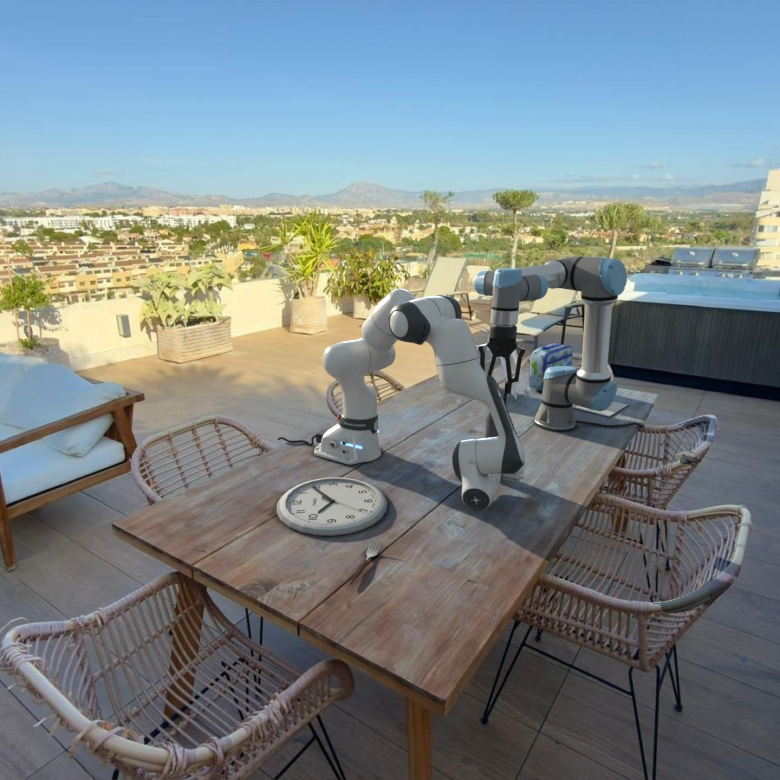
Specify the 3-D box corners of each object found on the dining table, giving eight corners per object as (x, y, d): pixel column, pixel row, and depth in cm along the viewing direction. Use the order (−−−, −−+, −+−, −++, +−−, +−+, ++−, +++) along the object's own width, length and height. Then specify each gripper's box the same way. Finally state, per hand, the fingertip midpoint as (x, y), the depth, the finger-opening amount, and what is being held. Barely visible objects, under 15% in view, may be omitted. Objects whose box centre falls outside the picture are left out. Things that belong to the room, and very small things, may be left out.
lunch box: (544, 395, 239) (549, 351, 233) (524, 390, 247) (528, 347, 240) (571, 384, 257) (577, 343, 251) (552, 380, 264) (556, 339, 258)
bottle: (479, 471, 164) (485, 396, 157) (497, 470, 165) (503, 395, 157) (485, 479, 159) (491, 402, 151) (503, 478, 160) (509, 401, 152)
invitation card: (608, 416, 214) (573, 407, 224) (608, 416, 214) (573, 408, 224) (628, 404, 229) (594, 396, 238) (628, 405, 229) (594, 397, 238)
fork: (344, 585, 111) (344, 577, 110) (372, 544, 125) (372, 537, 125) (355, 588, 110) (355, 580, 109) (382, 546, 124) (382, 539, 124)
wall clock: (392, 527, 129) (268, 531, 127) (391, 533, 130) (269, 537, 127) (383, 473, 158) (282, 475, 155) (383, 478, 158) (282, 480, 156)
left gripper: (524, 469, 144) (528, 450, 157) (451, 458, 150) (461, 441, 163) (522, 490, 146) (526, 469, 159) (450, 478, 152) (460, 459, 165)
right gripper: (534, 324, 149) (526, 401, 156) (475, 320, 153) (470, 396, 160) (534, 328, 142) (526, 409, 149) (472, 325, 146) (467, 404, 153)
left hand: (493, 455), depth 161 cm, fingers closed on bottle, 5 cm apart
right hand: (497, 402), depth 155 cm, fingers closed on cap, 4 cm apart
